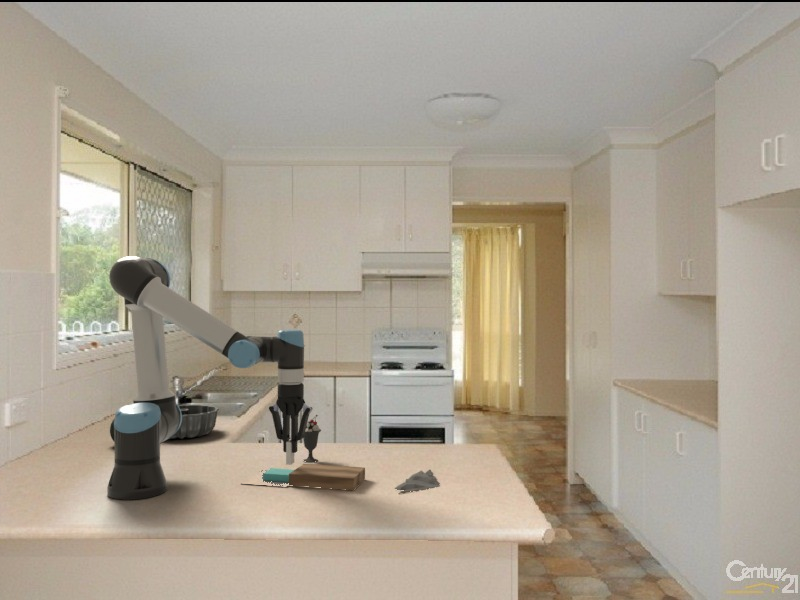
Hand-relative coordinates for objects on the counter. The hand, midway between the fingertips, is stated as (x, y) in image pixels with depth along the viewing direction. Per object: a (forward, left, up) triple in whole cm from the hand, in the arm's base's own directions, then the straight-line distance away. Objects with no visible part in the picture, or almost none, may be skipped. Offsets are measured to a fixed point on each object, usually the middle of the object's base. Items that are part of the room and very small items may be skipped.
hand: (290, 463), depth 198 cm
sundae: (+23, +2, -5) cm, 24 cm away
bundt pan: (+49, +63, -5) cm, 80 cm away
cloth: (+6, -37, -6) cm, 38 cm away
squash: (+29, +71, -5) cm, 77 cm away
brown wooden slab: (0, -12, -5) cm, 13 cm away
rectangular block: (0, +3, -5) cm, 5 cm away
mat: (0, +5, -5) cm, 7 cm away
